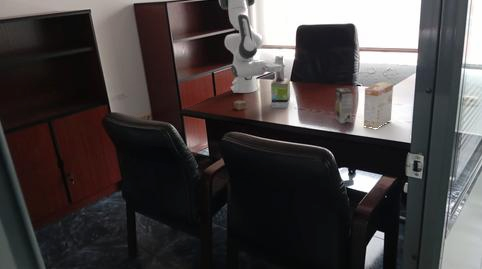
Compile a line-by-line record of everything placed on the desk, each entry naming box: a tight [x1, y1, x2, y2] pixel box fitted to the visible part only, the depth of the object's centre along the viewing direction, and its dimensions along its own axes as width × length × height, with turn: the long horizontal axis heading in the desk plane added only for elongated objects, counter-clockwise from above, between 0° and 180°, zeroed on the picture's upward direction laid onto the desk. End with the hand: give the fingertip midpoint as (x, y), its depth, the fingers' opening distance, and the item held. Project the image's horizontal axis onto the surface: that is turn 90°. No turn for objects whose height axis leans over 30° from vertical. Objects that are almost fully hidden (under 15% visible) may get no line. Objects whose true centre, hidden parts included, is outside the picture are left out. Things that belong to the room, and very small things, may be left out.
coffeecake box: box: [363, 81, 394, 129], centre depth 194 cm, size 15×7×20 cm, turn 133°
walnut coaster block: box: [233, 100, 247, 111], centre depth 239 cm, size 5×5×4 cm
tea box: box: [270, 77, 291, 109], centre depth 239 cm, size 15×10×15 cm, turn 169°
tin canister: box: [274, 55, 285, 81], centre depth 234 cm, size 5×5×14 cm
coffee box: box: [334, 87, 354, 124], centre depth 204 cm, size 9×6×16 cm
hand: (281, 64), depth 234 cm, fingers open, 7 cm apart
